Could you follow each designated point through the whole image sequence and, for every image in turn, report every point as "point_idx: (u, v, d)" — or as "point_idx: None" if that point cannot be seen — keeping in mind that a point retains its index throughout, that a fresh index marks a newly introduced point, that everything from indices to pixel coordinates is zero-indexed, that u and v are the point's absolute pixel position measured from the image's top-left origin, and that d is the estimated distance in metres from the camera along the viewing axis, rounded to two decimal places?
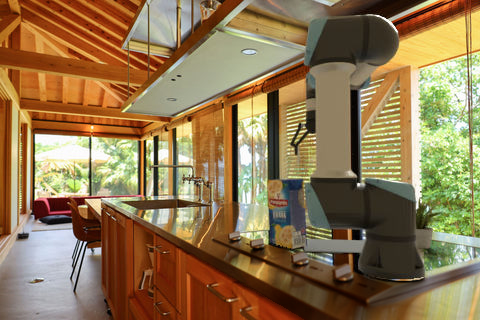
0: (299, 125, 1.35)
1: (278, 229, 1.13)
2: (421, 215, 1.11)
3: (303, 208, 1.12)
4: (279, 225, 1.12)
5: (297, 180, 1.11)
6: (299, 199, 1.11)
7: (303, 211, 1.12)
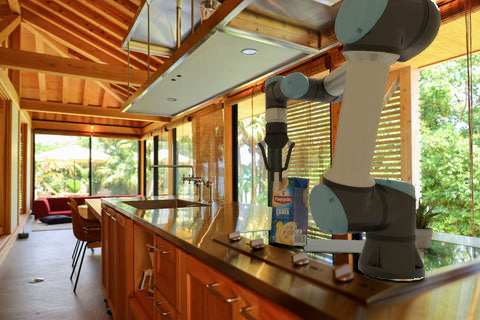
0: (260, 145, 1.15)
1: (280, 226, 1.14)
2: (421, 215, 1.11)
3: (306, 207, 1.13)
4: (281, 222, 1.13)
5: (303, 179, 1.13)
6: (303, 198, 1.12)
7: (306, 210, 1.13)
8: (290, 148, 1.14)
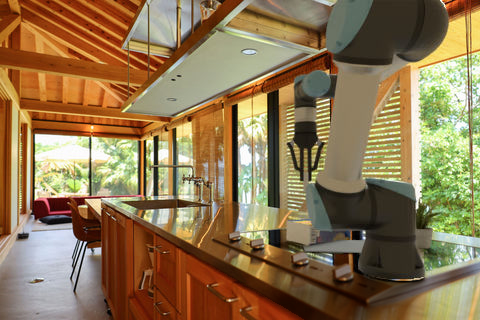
0: (289, 145, 1.14)
1: (306, 221, 1.20)
2: (421, 215, 1.11)
3: (333, 239, 1.19)
4: None
5: (350, 231, 1.24)
6: (338, 233, 1.21)
7: (331, 239, 1.18)
8: (320, 148, 1.12)
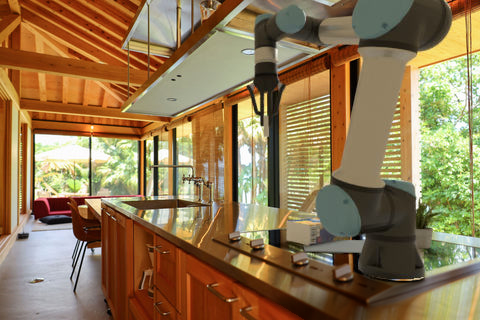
0: (248, 88, 1.09)
1: (306, 221, 1.20)
2: (421, 215, 1.11)
3: (333, 239, 1.19)
4: (311, 221, 1.20)
5: None
6: None
7: (331, 239, 1.18)
8: (280, 90, 1.08)
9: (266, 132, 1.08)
